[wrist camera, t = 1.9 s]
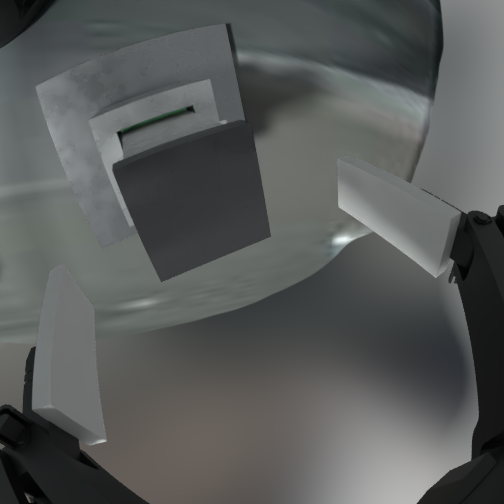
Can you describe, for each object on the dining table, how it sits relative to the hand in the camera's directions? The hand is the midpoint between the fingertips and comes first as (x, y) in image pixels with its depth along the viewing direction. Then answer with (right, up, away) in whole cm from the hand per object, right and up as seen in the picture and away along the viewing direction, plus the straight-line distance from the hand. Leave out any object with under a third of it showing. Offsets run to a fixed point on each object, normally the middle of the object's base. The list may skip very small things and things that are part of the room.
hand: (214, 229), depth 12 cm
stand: (-10, +13, +18) cm, 24 cm away
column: (-9, +12, +17) cm, 23 cm away
